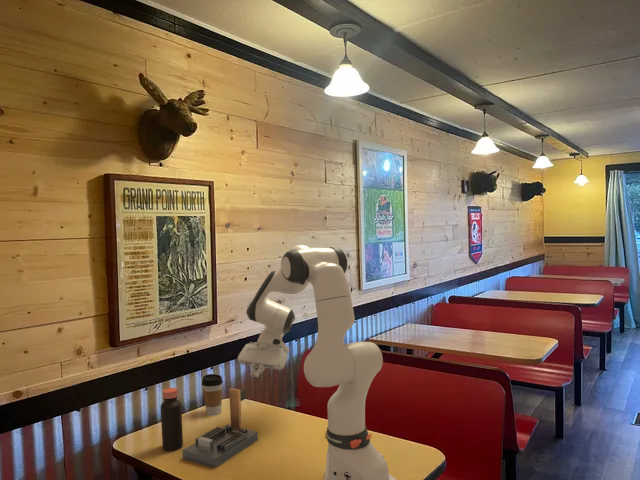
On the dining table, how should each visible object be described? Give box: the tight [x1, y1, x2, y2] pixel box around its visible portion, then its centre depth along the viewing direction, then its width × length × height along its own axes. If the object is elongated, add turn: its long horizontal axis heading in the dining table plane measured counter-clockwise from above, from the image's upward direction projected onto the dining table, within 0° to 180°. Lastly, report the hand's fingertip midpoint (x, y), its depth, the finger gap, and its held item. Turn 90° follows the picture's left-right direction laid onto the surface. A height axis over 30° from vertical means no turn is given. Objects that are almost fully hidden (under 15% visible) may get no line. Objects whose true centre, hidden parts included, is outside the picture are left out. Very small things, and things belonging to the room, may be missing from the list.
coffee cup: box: [201, 373, 224, 417], centre depth 199 cm, size 8×8×15 cm
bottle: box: [160, 387, 184, 452], centre depth 169 cm, size 7×7×20 cm
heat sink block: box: [182, 423, 259, 469], centre depth 166 cm, size 22×14×6 cm, turn 150°
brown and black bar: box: [228, 387, 247, 432], centre depth 174 cm, size 4×4×15 cm
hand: (253, 376), depth 181 cm, fingers closed
